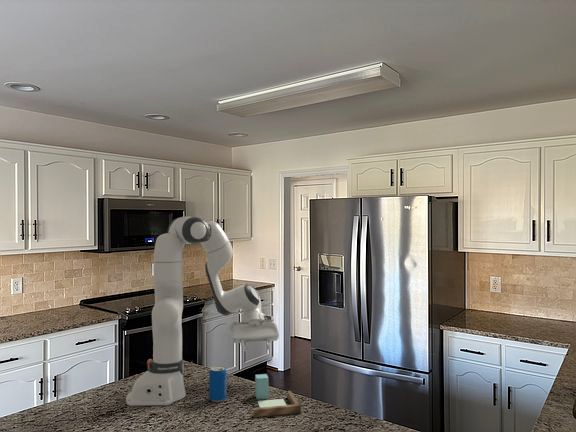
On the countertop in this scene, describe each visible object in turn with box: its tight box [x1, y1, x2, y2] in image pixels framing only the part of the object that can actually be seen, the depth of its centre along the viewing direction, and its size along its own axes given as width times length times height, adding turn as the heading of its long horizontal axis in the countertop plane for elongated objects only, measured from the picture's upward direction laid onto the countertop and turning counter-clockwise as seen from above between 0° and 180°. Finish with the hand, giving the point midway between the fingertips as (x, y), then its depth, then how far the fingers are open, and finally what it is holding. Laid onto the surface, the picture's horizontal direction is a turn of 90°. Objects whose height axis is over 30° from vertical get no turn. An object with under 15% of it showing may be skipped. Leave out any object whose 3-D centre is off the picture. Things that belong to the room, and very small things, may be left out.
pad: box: [257, 398, 287, 408], centre depth 167 cm, size 10×10×1 cm
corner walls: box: [252, 390, 302, 418], centre depth 166 cm, size 17×15×2 cm
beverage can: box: [208, 365, 227, 403], centre depth 173 cm, size 6×6×12 cm
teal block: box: [254, 373, 270, 400], centre depth 176 cm, size 4×4×8 cm
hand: (257, 349), depth 188 cm, fingers open, 8 cm apart
